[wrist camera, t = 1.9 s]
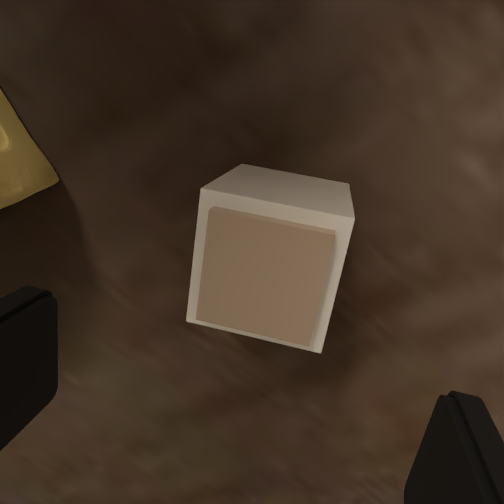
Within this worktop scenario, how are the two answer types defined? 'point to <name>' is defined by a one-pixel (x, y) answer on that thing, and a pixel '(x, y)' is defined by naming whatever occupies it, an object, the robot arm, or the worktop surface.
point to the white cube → (270, 255)
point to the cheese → (20, 160)
